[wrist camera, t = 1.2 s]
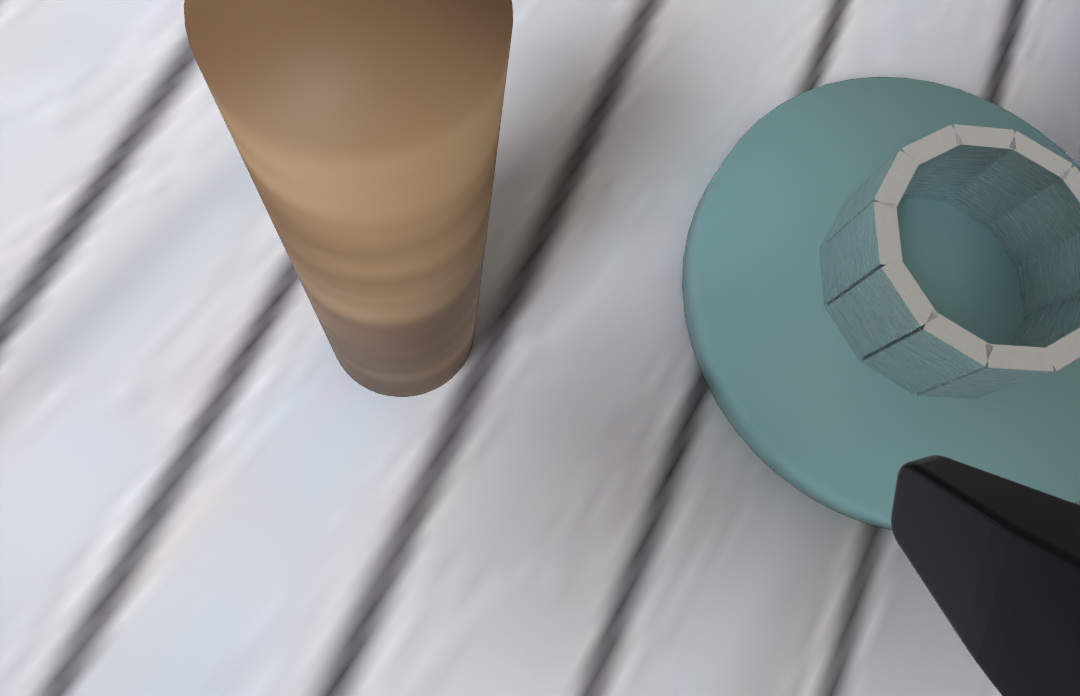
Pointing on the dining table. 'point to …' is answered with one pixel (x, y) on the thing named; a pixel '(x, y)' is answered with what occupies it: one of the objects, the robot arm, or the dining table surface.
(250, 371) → the dining table surface
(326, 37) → the dowel
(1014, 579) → the robot arm
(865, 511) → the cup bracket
